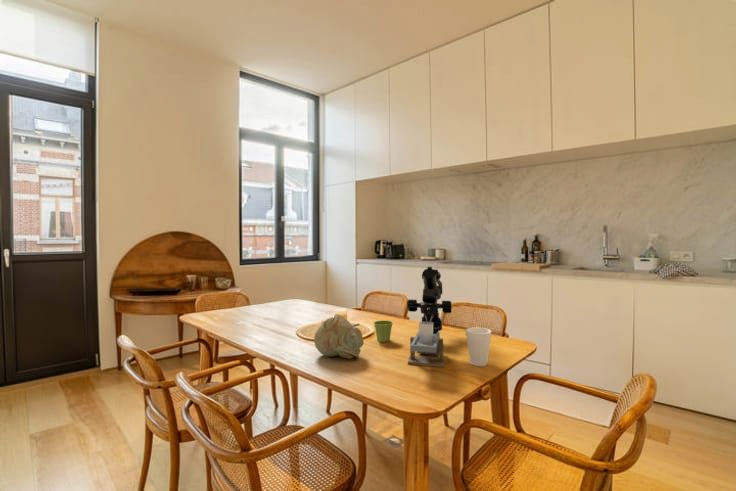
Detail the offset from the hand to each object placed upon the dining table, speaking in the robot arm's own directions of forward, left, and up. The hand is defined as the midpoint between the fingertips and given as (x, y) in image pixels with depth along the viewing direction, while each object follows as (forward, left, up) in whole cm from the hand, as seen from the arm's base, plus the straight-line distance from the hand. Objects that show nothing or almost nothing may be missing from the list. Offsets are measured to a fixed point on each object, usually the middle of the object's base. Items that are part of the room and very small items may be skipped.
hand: (428, 323), depth 153 cm
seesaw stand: (+6, -6, -14) cm, 16 cm away
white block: (+8, -8, -4) cm, 12 cm away
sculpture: (-19, -32, -14) cm, 40 cm away
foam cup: (+18, +10, -14) cm, 25 cm away
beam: (+8, -8, -11) cm, 16 cm away
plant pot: (-28, -4, -14) cm, 31 cm away
